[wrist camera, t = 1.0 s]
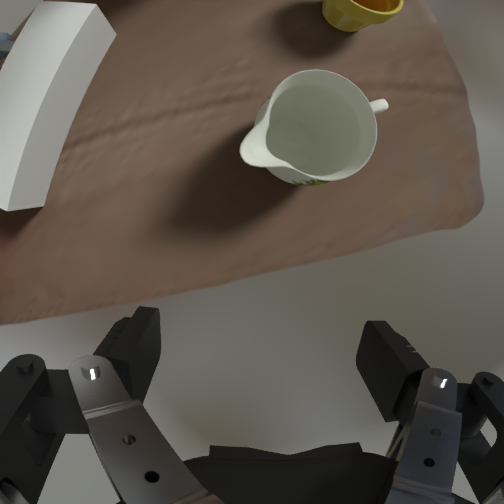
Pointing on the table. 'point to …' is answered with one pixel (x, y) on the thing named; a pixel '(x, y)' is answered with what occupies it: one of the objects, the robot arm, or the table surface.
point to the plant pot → (359, 12)
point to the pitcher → (313, 129)
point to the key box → (45, 94)
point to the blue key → (5, 44)
